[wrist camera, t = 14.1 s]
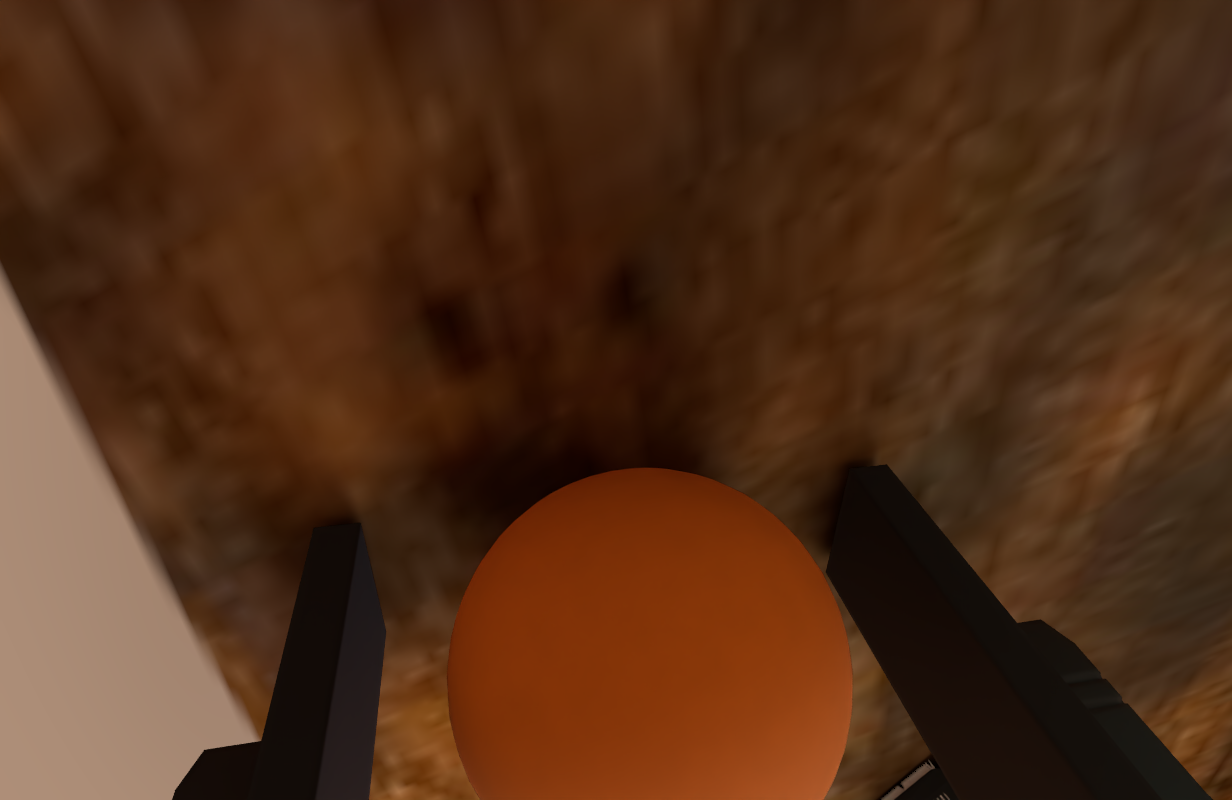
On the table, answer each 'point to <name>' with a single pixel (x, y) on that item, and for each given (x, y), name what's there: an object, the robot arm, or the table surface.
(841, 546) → the robot arm
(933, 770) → the electric trimmer
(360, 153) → the table surface
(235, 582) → the table surface
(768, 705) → the ball
